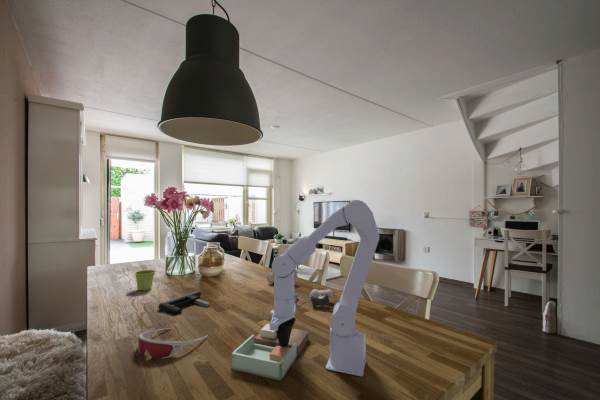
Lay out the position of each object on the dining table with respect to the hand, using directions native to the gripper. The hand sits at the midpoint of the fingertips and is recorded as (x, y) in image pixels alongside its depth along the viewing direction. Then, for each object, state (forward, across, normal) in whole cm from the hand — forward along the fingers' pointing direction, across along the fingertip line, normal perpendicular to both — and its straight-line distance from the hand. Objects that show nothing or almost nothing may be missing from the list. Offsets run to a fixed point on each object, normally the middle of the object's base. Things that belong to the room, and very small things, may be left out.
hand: (283, 345), depth 75 cm
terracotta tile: (+2, +2, 0) cm, 3 cm away
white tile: (0, -6, -7) cm, 9 cm away
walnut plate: (+3, -7, -4) cm, 8 cm away
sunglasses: (+4, +5, -36) cm, 36 cm away
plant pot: (+3, -33, -90) cm, 96 cm away
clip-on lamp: (+3, -44, -5) cm, 44 cm away
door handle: (+4, -22, -53) cm, 58 cm away
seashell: (+3, -66, -29) cm, 72 cm away
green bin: (+3, +4, -4) cm, 6 cm away
